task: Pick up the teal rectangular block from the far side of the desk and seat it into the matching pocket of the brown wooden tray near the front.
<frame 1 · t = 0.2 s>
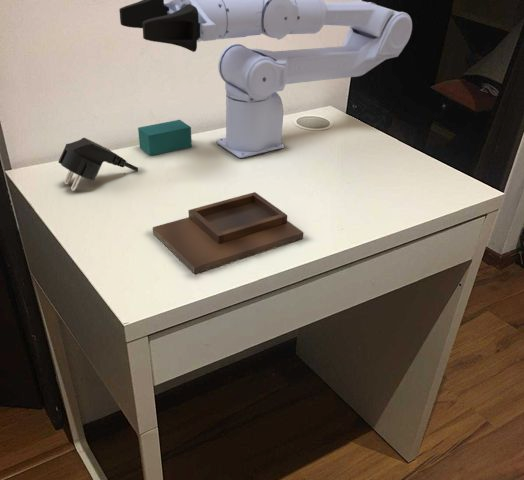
hand: (131, 23, 81), 21 cm above the table, tool horizontal, fingers open, 7 cm apart
power plug: (102, 180, 91), on the table
teal rectangular block: (165, 147, 101), on the table
brown wooden tray: (234, 241, 79), on the table
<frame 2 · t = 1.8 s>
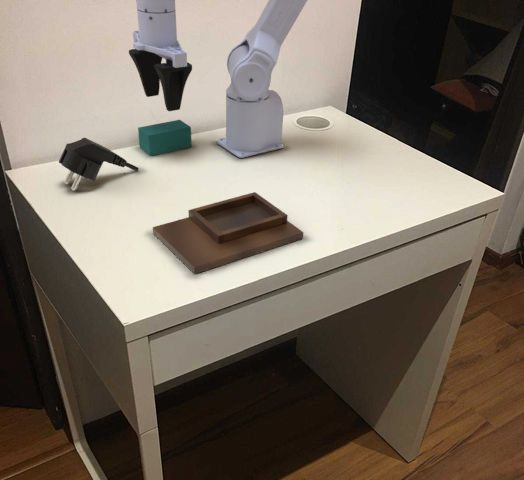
hand: (162, 102, 96), 8 cm above the table, tool pointing down, fingers open, 7 cm apart
nothing on the table moved.
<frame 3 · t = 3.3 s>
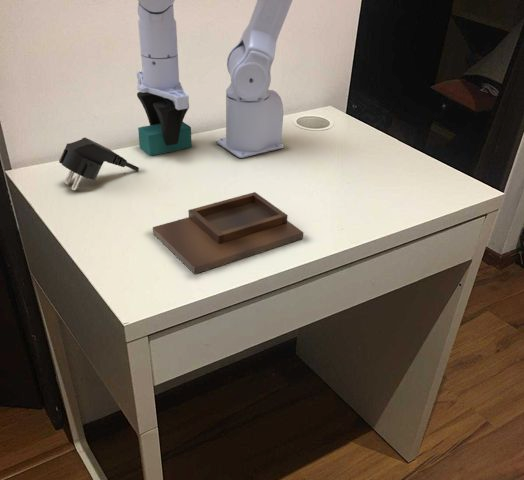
hand: (165, 139, 100), 1 cm above the table, tool pointing down, fingers closed on teal rectangular block, 4 cm apart
teal rectangular block: (166, 147, 101), on the table, touching gripper
everything else where it was.
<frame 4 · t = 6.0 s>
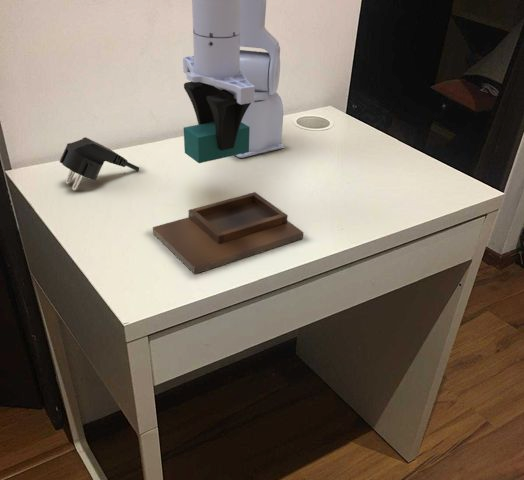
hand: (217, 142, 80), 9 cm above the table, tool pointing down, fingers closed on teal rectangular block, 4 cm apart
teal rectangular block: (217, 152, 81), point 8 cm above the table, touching gripper
everything else where it was.
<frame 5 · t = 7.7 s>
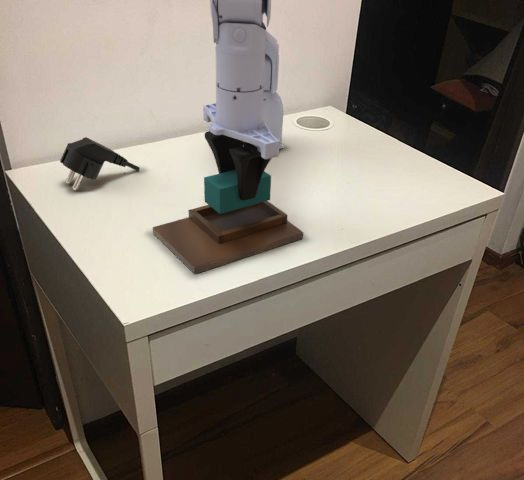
hand: (238, 191, 78), 5 cm above the table, tool pointing down, fingers closed on teal rectangular block, 4 cm apart
teal rectangular block: (237, 200, 79), point 4 cm above the table, touching gripper
everything else where it was.
when the fingers open (2 cm above the table, at t = 9.0 s): teal rectangular block stays where it is, resting on brown wooden tray.
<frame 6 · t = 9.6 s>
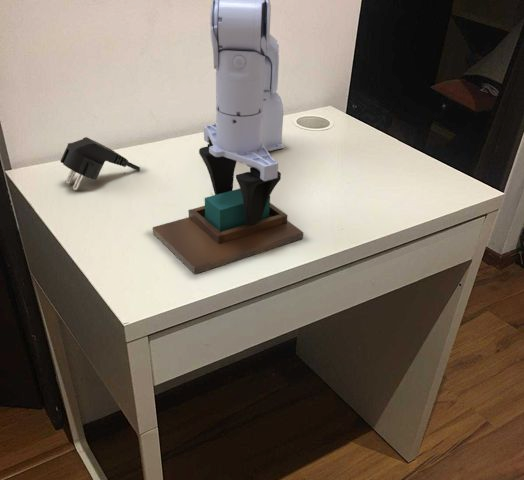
hand: (238, 209, 80), 3 cm above the table, tool pointing down, fingers open, 7 cm apart
teal rectangular block: (237, 220, 81), point 1 cm above the table, touching brown wooden tray
everything else where it was.
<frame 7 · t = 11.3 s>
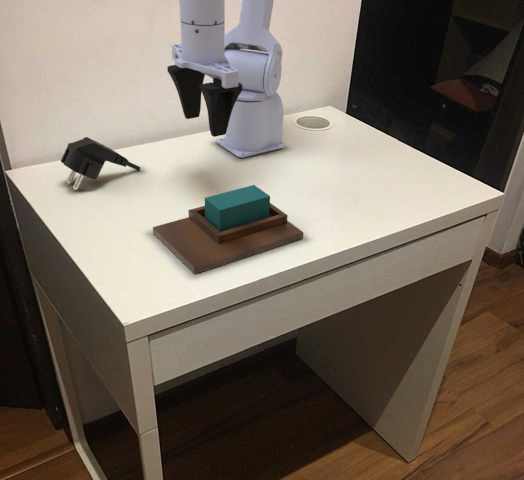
hand: (205, 125, 84), 9 cm above the table, tool pointing down, fingers open, 7 cm apart
nothing on the table moved.
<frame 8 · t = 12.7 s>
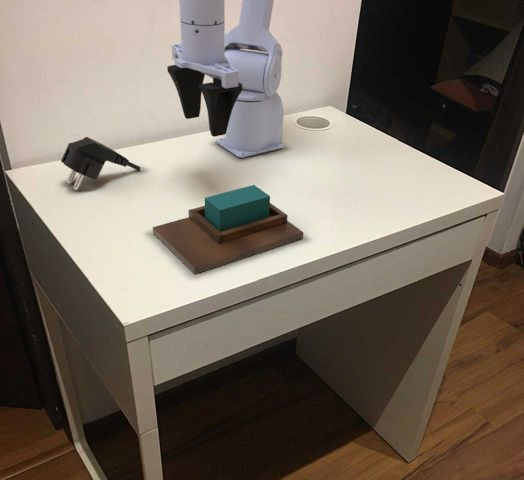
hand: (205, 125, 84), 9 cm above the table, tool pointing down, fingers open, 7 cm apart
nothing on the table moved.
at the end: teal rectangular block 0.1 cm from the target spot on the brown wooden tray, point 1.1 cm above the brown wooden tray's base; teal rectangular block tilted 0°; the gripper is holding nothing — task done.
